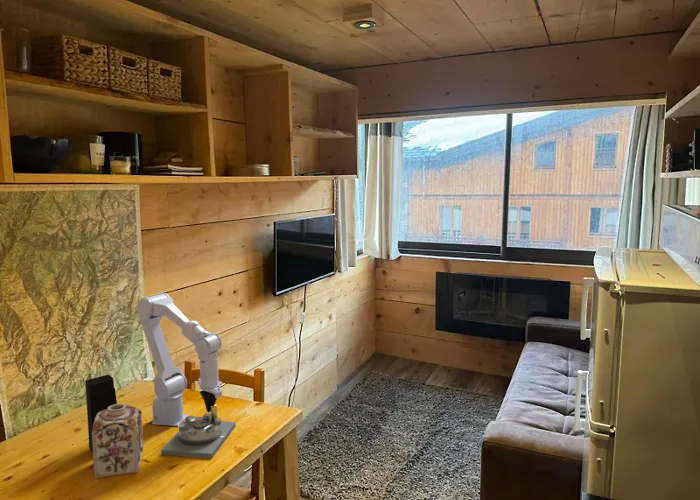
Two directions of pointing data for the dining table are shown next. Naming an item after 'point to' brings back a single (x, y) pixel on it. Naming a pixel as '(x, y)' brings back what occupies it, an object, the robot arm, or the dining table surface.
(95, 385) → the portable radio
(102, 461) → the decorative jar
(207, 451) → the base plate
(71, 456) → the dining table surface
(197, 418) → the notched steel disc
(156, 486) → the dining table surface
